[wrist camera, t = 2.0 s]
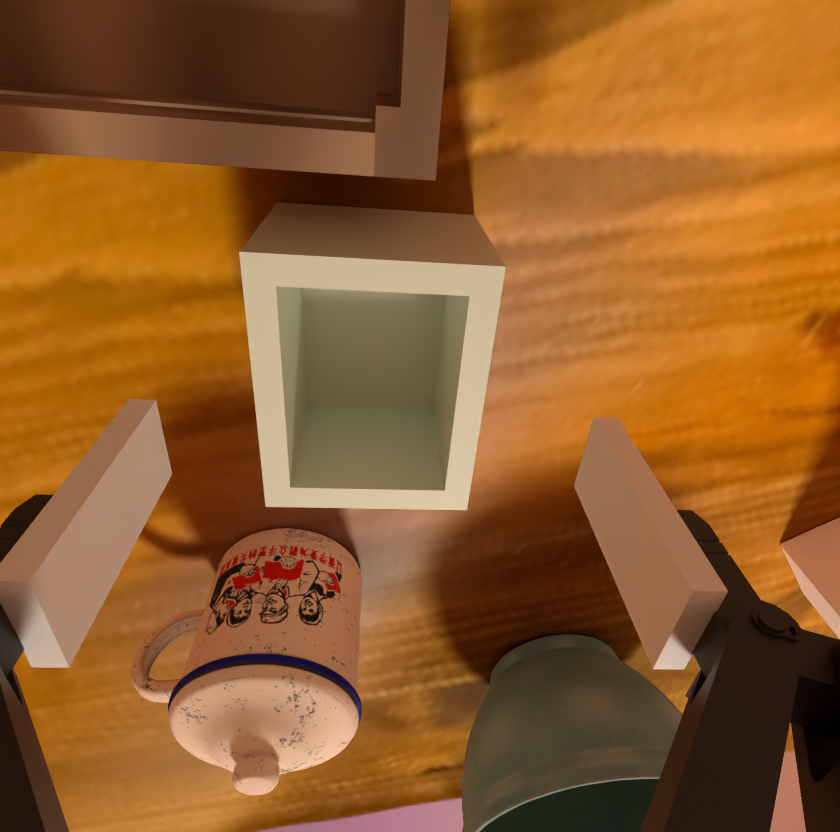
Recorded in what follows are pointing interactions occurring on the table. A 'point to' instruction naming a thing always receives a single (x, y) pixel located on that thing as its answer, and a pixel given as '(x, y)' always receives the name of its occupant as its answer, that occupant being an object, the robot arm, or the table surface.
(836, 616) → the milk
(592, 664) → the flower pot
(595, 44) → the table surface
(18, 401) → the table surface
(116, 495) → the robot arm
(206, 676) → the teacup with lid
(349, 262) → the small crate
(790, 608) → the table surface
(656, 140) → the table surface
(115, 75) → the crate
